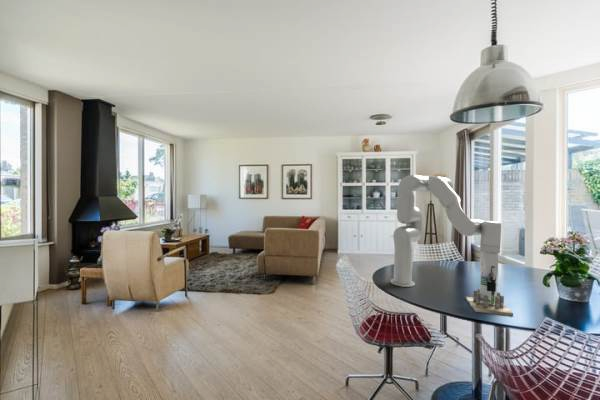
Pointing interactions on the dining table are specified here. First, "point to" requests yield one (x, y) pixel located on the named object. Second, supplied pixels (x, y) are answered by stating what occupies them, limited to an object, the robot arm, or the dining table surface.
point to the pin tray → (485, 306)
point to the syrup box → (484, 291)
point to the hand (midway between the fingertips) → (488, 288)
